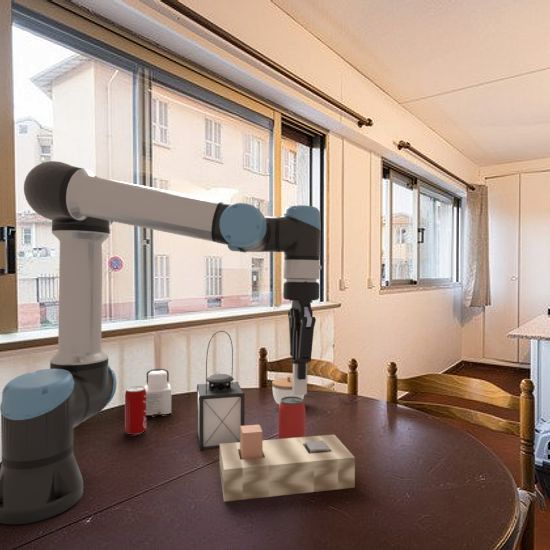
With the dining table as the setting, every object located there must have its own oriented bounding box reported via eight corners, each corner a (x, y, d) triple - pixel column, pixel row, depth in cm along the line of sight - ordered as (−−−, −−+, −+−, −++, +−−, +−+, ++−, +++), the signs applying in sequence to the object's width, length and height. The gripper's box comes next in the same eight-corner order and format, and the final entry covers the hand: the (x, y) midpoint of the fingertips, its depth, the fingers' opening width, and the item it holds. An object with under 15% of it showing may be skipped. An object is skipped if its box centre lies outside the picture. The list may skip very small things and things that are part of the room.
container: (144, 409, 130) (144, 368, 130) (169, 407, 132) (169, 366, 132) (144, 417, 123) (144, 373, 123) (171, 415, 125) (171, 372, 125)
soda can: (147, 434, 110) (147, 389, 110) (125, 437, 108) (125, 391, 108) (145, 426, 115) (145, 383, 115) (124, 429, 113) (124, 385, 113)
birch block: (223, 501, 77) (223, 469, 77) (219, 471, 89) (219, 443, 89) (354, 487, 83) (354, 457, 83) (334, 460, 94) (334, 434, 94)
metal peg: (310, 479, 85) (310, 449, 85) (305, 469, 89) (305, 442, 89) (329, 477, 86) (329, 448, 86) (323, 468, 90) (323, 440, 90)
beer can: (303, 455, 97) (303, 404, 97) (276, 453, 98) (276, 402, 98) (307, 444, 103) (307, 396, 103) (281, 442, 105) (281, 394, 105)
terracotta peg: (242, 463, 82) (242, 433, 82) (240, 454, 86) (240, 425, 86) (262, 461, 83) (262, 431, 83) (259, 453, 87) (259, 424, 87)
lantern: (238, 430, 113) (238, 327, 113) (245, 446, 102) (244, 333, 102) (196, 434, 110) (196, 329, 110) (199, 451, 99) (198, 334, 99)
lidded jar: (311, 404, 135) (311, 375, 135) (294, 413, 126) (295, 382, 126) (282, 398, 141) (283, 371, 141) (265, 407, 132) (265, 378, 132)
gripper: (329, 281, 81) (326, 402, 81) (309, 280, 94) (307, 384, 94) (291, 281, 79) (289, 404, 79) (277, 280, 92) (275, 385, 92)
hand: (299, 393), depth 87 cm, fingers closed
